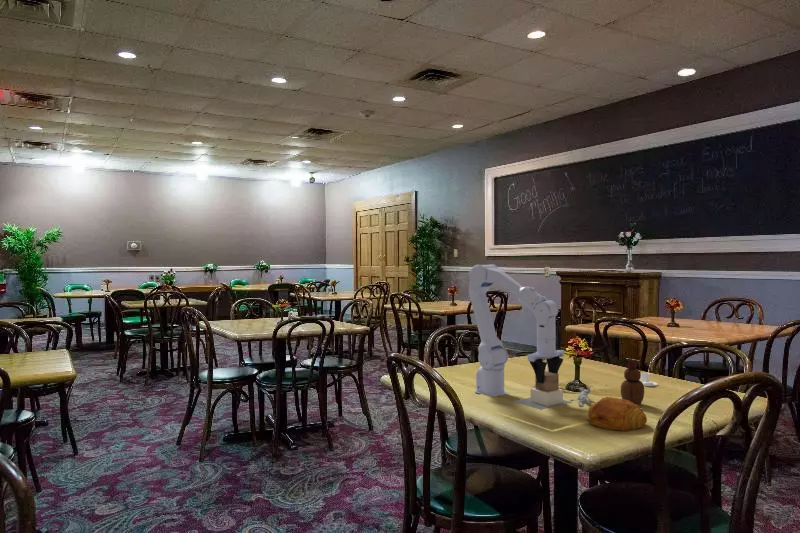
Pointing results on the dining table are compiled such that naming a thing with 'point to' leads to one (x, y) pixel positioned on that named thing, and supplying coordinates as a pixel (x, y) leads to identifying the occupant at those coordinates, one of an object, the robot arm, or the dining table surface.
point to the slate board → (539, 406)
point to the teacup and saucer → (647, 380)
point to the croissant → (616, 414)
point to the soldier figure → (583, 396)
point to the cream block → (546, 397)
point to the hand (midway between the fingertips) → (546, 381)
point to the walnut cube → (548, 382)
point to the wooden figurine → (632, 384)
